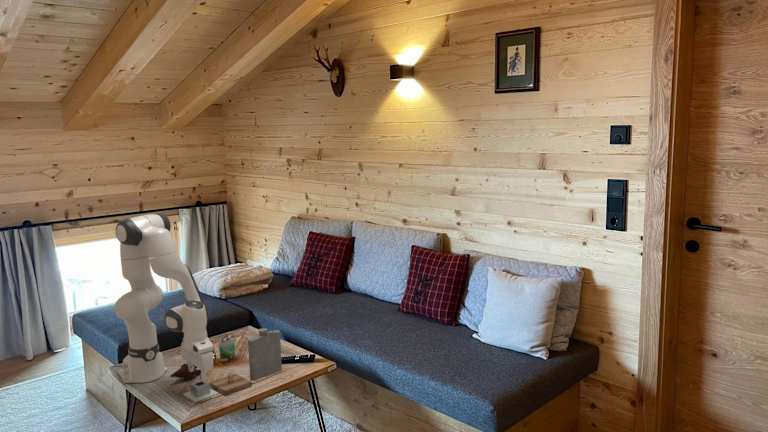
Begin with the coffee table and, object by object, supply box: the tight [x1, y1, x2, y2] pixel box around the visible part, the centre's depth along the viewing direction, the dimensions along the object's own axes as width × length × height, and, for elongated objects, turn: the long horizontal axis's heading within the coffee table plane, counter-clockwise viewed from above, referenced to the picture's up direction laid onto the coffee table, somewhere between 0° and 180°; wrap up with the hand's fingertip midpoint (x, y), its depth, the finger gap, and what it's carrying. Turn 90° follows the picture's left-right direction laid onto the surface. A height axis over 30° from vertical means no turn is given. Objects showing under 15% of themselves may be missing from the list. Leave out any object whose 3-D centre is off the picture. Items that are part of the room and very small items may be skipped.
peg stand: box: [209, 371, 253, 397], centre depth 248 cm, size 12×12×6 cm
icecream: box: [169, 363, 201, 381], centre depth 256 cm, size 7×7×15 cm
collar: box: [189, 379, 211, 398], centre depth 241 cm, size 6×6×4 cm
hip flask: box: [247, 327, 283, 382], centre depth 258 cm, size 16×4×20 cm, turn 138°
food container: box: [218, 333, 237, 364], centre depth 277 cm, size 12×6×10 cm, turn 179°
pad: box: [182, 387, 219, 403], centre depth 242 cm, size 10×10×1 cm
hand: (197, 374), depth 241 cm, fingers open, 8 cm apart
